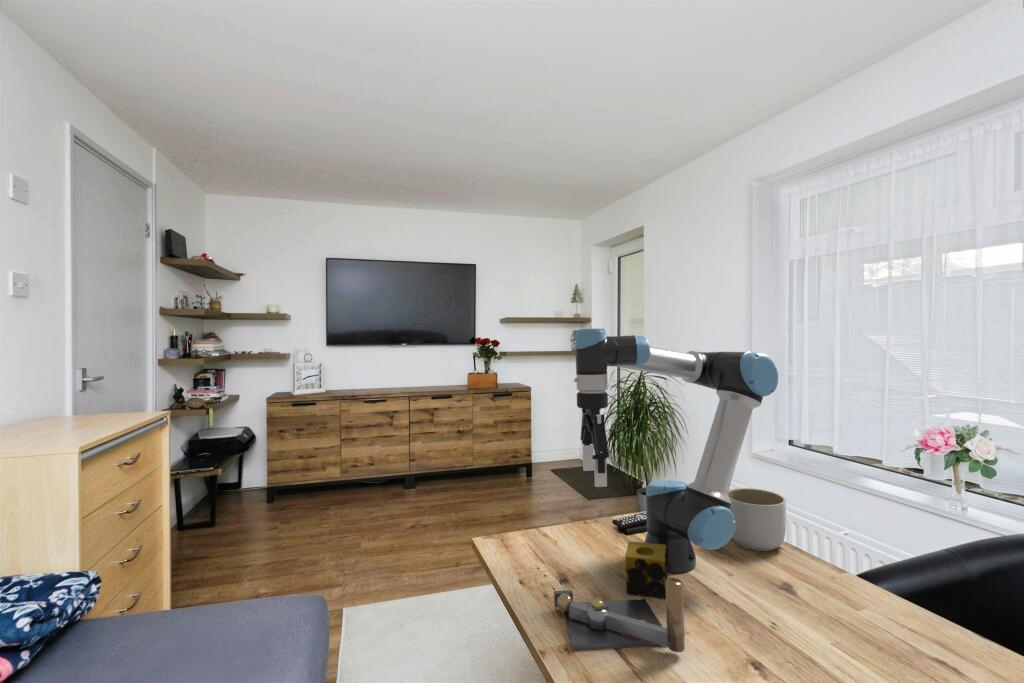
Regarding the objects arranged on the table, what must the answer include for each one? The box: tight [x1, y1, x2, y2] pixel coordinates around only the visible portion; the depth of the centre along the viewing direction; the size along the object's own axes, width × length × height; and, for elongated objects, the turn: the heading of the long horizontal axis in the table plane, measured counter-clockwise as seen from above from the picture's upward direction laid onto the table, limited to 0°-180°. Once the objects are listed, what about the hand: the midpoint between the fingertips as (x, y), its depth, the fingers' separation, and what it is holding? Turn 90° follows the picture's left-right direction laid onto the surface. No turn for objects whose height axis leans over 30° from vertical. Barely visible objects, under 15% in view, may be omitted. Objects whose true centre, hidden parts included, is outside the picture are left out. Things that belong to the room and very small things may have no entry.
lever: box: [569, 577, 686, 653], centre depth 103 cm, size 25×5×13 cm, turn 58°
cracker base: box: [553, 589, 664, 652], centre depth 107 cm, size 23×17×7 cm
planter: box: [728, 487, 787, 552], centre depth 148 cm, size 17×17×15 cm
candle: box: [624, 541, 669, 600], centre depth 124 cm, size 10×10×10 cm
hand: (594, 478), depth 116 cm, fingers open, 13 cm apart
